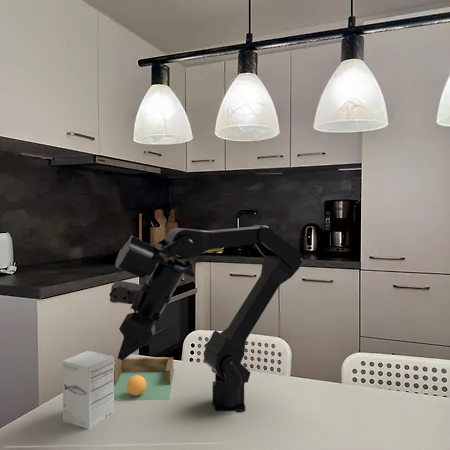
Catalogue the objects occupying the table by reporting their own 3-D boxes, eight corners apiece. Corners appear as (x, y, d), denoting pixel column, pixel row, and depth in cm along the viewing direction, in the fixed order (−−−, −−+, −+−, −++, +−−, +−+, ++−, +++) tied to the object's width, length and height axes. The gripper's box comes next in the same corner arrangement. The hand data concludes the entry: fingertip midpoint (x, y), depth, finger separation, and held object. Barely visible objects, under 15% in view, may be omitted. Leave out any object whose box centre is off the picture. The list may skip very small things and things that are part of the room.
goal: (173, 370, 112) (173, 357, 111) (170, 384, 102) (170, 370, 102) (118, 370, 111) (118, 357, 111) (110, 385, 102) (110, 371, 102)
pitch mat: (174, 370, 113) (174, 368, 112) (168, 400, 95) (168, 399, 95) (119, 370, 112) (119, 369, 112) (103, 401, 94) (102, 400, 94)
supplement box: (61, 422, 85) (60, 360, 84) (89, 407, 91) (88, 349, 91) (88, 431, 81) (88, 366, 81) (115, 415, 88) (115, 355, 87)
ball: (147, 390, 99) (147, 372, 99) (144, 399, 95) (144, 379, 94) (128, 390, 99) (128, 372, 99) (125, 399, 94) (124, 380, 94)
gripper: (134, 255, 94) (102, 314, 96) (115, 278, 76) (75, 350, 78) (178, 279, 95) (145, 337, 97) (169, 308, 77) (129, 378, 79)
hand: (124, 348), depth 88 cm, fingers open, 9 cm apart
